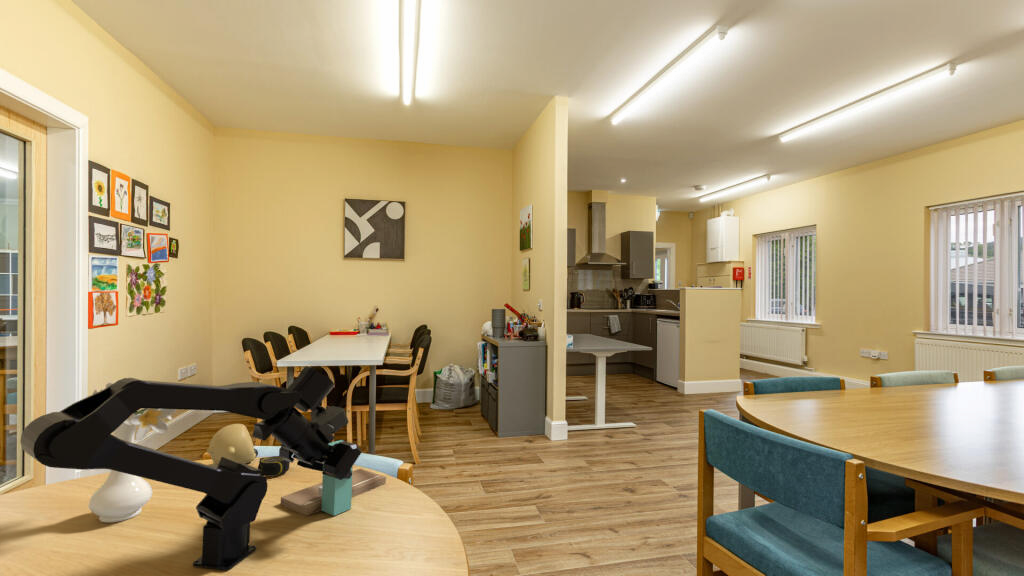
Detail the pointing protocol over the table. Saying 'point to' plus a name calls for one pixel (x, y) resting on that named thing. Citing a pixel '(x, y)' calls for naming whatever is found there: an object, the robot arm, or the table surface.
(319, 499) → the board
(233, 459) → the toy pig
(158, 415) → the flower vase
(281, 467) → the tape measure
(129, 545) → the table surface
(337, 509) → the teal rectangular block
